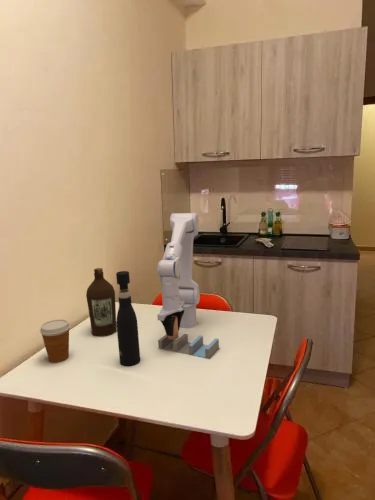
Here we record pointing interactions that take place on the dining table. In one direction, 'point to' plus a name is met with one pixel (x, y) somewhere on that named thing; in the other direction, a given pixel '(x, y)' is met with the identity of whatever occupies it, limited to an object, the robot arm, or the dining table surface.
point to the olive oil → (101, 305)
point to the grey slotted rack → (189, 346)
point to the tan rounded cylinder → (175, 330)
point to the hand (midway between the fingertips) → (172, 333)
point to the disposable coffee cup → (56, 339)
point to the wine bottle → (127, 324)
